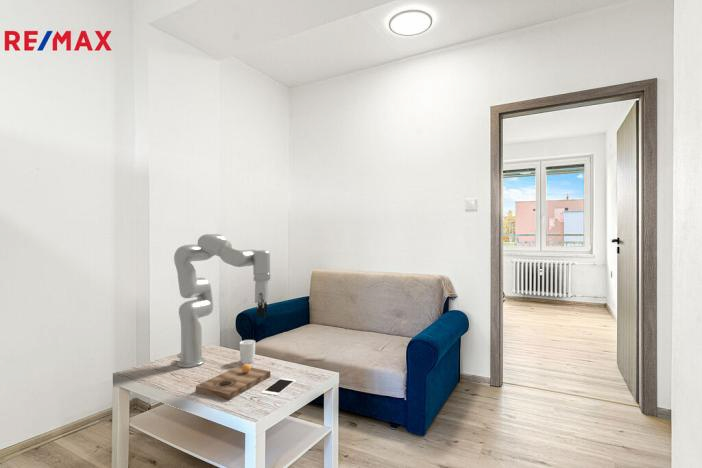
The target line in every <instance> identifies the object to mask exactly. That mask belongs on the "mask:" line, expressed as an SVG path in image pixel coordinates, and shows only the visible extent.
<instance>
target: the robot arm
mask: <svg viewBox="0 0 702 468" xmlns="http://www.w3.org/2000/svg"><path fill="white" fill-rule="evenodd" d="M214 256H217V257H219V258H220V260H221V261H222V262H224V263H225V264H228V265H230V266H233V267H238V268H242V267H251V266H253V268H252V269H253V272H252V273H253V275H252V276H253V278H252V279H253V282H254V303H255V304H256V305H257V306H256V307H257V308H256V317H257V318H265V316H266V315H265V313H268V303H267V301H268V299H269V298H268V297H269V285H268V284H269V281H271V253H270V251H269V250H266V249H265V250H257V249H241V250H238V249H235V248H233V245H232V243H231V242H230V241H229V240H227V238H226V237H225V236H224V235H222V234H219V233H215V234H212V233H211V234H209V233H207V234H206V233H205V234H202V235H201V236H200V237H199V238H198V239H197V244H185V245H181V246H179V247H178V248H177V249H176V251H174V256H173V261H174V266H175V268H176V273H177V282H178V288H179V289H178V290H179V295H180V297H182V298H184V299H191V298H197V299H191V300H188V301H185V302H183V303H182V304H181V305H179V307H178V317H179V320H180V352H179V354H177V356H176V357H177V358H179V361H177V366H178V367H180V368H194V367H199V366H202V365H203V364H204V363H205V362H206V358H204V357H203V356H202V354H203V352H202V351H203V350H202V349H203V348H202V344H203V343H202V341H203V340H202V338H203V336H202V335H203V334H202V325H201V322H200V321H199V318H204V317H207V316H210V315H211V313H212V312H213V311H214V301H213V293H212V285H211V283H210V281H209V280H208V279H207V278H206V277H205V278H204V277H197V272H196V268H195V266H194V265H193V264H192V263H191V262H200V261H201V262H202V261H207V260H210V259H211V258H213V257H214Z"/></svg>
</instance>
